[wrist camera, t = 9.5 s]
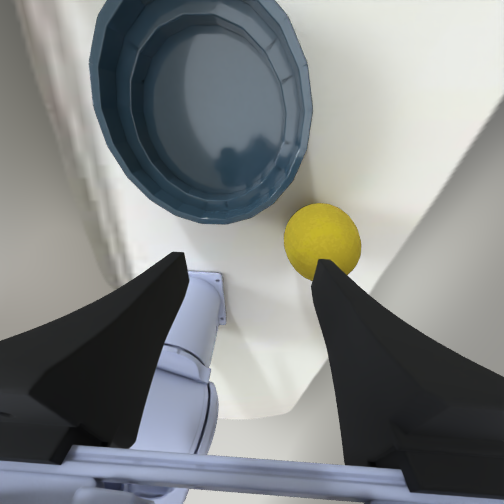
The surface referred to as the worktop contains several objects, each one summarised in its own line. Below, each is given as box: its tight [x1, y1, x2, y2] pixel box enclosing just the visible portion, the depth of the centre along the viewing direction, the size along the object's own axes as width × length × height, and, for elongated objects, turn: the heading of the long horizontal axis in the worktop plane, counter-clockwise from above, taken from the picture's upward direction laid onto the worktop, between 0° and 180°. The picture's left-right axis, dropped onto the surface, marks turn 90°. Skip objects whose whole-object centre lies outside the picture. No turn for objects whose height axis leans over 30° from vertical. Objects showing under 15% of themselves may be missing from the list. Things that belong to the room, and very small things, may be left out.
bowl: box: [89, 0, 313, 224], centre depth 14 cm, size 13×13×4 cm
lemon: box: [284, 203, 361, 281], centre depth 16 cm, size 6×6×8 cm
